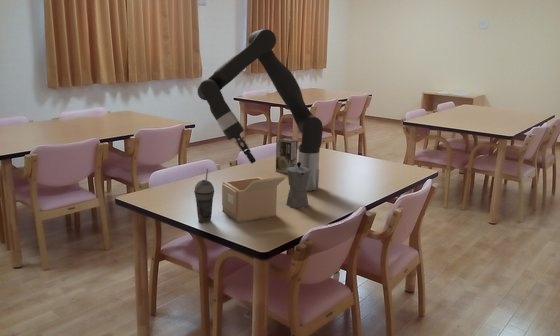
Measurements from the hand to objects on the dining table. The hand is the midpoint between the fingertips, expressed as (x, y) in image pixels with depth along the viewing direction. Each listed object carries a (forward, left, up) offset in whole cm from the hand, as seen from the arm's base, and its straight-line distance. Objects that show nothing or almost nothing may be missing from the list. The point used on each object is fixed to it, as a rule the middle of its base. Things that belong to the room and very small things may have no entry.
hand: (253, 162), depth 201 cm
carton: (+1, +11, -18) cm, 21 cm away
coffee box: (-15, -52, -18) cm, 57 cm away
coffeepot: (-18, -2, -18) cm, 25 cm away
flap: (-3, +17, -6) cm, 18 cm away
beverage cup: (+17, +20, -18) cm, 32 cm away
